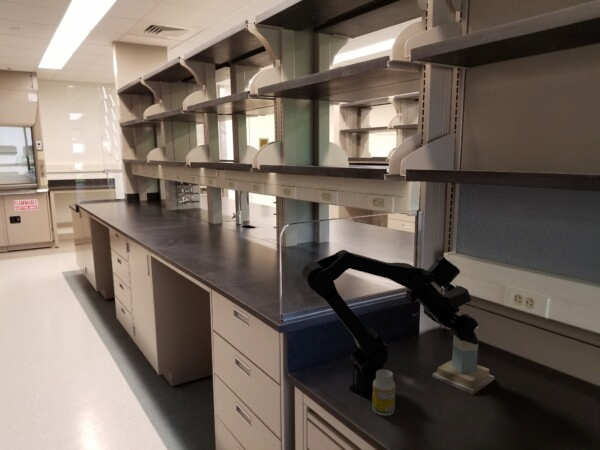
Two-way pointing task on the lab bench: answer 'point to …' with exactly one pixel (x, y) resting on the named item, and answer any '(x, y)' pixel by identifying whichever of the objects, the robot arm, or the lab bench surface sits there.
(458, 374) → the tower base
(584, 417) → the lab bench surface
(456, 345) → the white and blue box
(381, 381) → the supplement bottle
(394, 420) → the lab bench surface
